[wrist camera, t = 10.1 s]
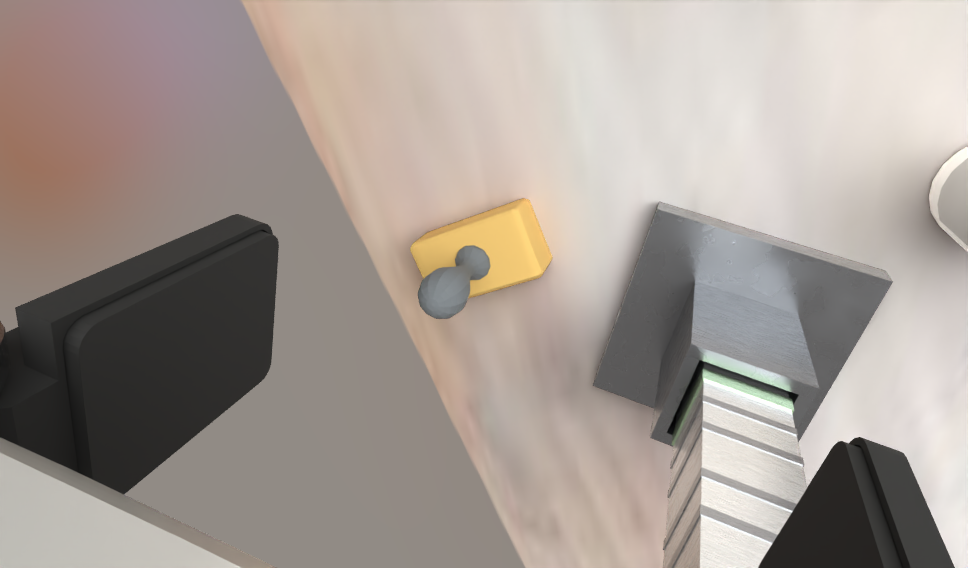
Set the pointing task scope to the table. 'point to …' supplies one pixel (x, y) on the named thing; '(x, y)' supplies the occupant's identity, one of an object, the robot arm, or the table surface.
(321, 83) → the table surface
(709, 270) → the jack stand base
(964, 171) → the spray bottle
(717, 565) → the block
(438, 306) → the rubber stamp
